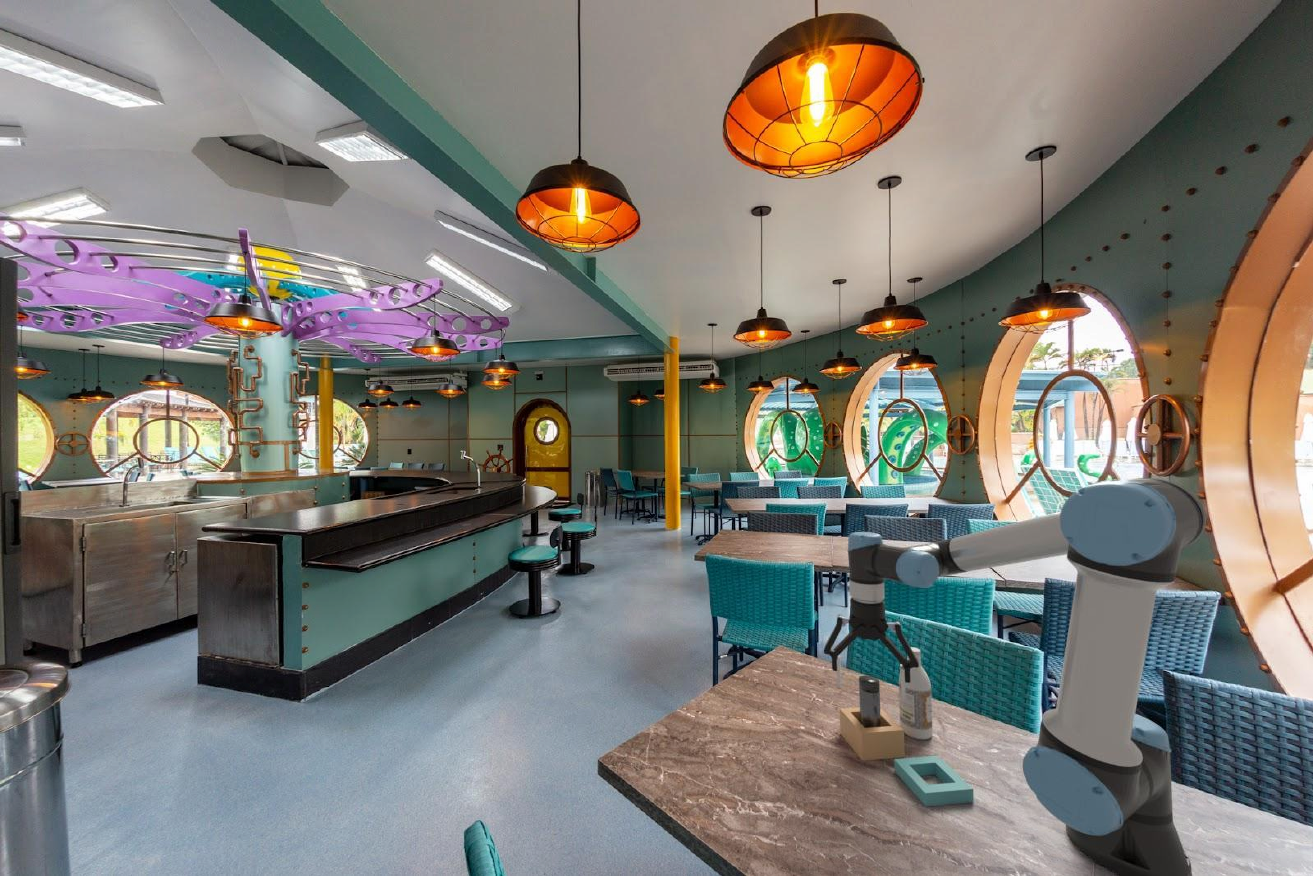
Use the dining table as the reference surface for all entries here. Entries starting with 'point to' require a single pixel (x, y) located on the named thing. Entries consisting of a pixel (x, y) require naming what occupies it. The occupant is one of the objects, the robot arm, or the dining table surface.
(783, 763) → the dining table surface
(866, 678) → the pin
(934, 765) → the mount
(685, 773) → the dining table surface
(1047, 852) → the dining table surface
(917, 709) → the bath foam
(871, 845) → the dining table surface
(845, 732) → the socket
